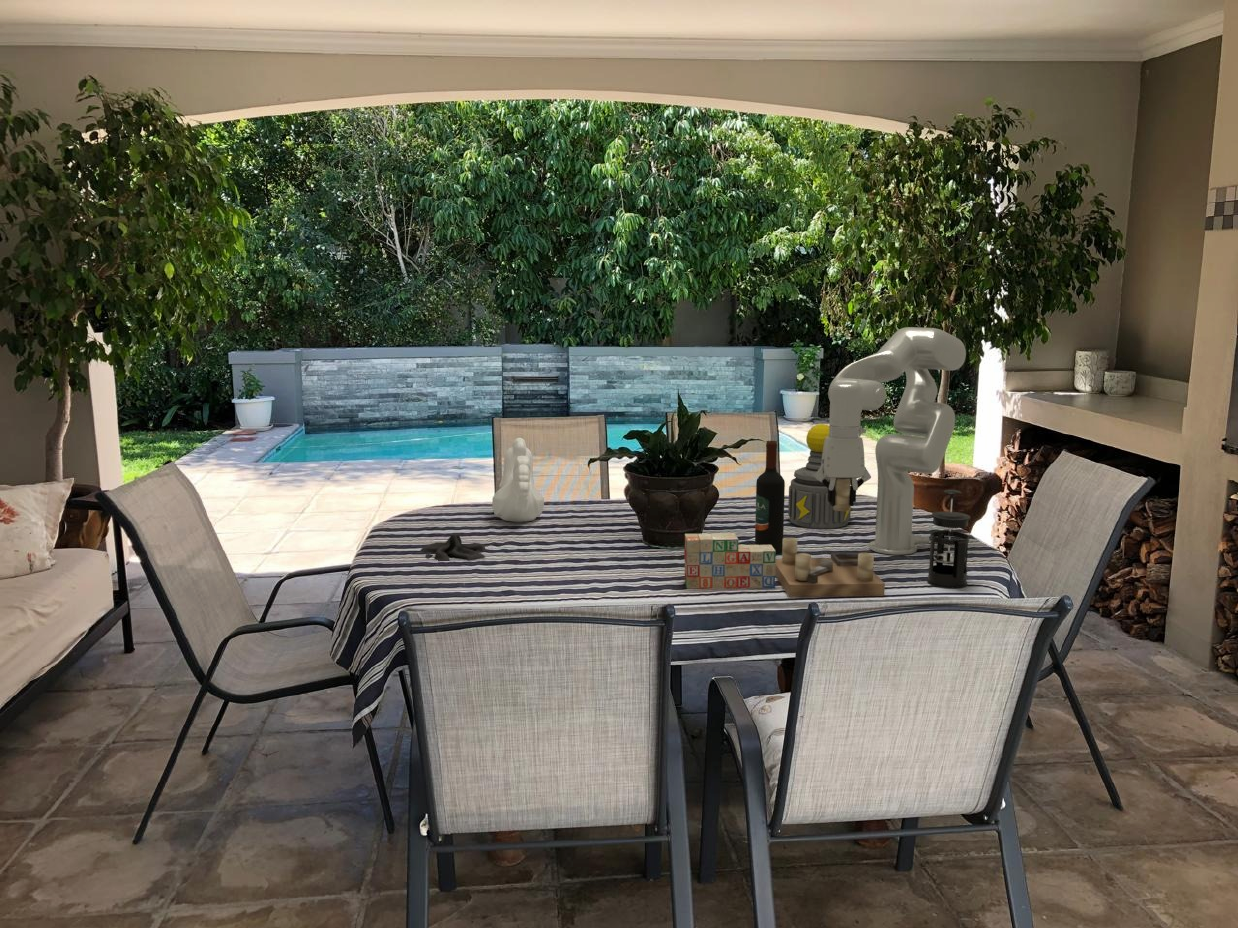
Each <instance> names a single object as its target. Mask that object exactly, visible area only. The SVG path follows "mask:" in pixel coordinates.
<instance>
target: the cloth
mask: <svg viewBox="0 0 1238 928" xmlns="http://www.w3.org/2000/svg"><path fill="white" fill-rule="evenodd" d="M462 543H463V541H462V539H461V536H460V534H459V533H456V532H455V533H451V534H450V536H449V537H448V539H447V540H446V541H445V542H444V541H443V542H438V541H437V542H432V543H430V544H427V545H425V546H423V547H422V548H421V549H420V550H419V552H420V553H426V554H425V559H427V560H429V559H430V558H432V557H434V560H436V561H437V560H438V561H437V562H440V561H450V558H461V559H463V560H465V561H469V562H470V561H475V560H480V559H481V560H482V559H485V558H486V556H485V555H484V554H482V553H481V552H486V551H487V549H486V546H484V545H483V544H482V543H478V542H472V543H467V544H462ZM430 553H432V554H430ZM433 553H435V555H433ZM450 562H451V561H450Z"/></svg>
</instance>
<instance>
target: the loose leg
mask: <svg viewBox="0 0 1238 928" xmlns="http://www.w3.org/2000/svg"><path fill="white" fill-rule="evenodd" d="M850 486H851V478H836V480H835V484H834V490H835V491H836V493H835V506H833V510H836V511H849V509H850Z"/></svg>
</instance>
